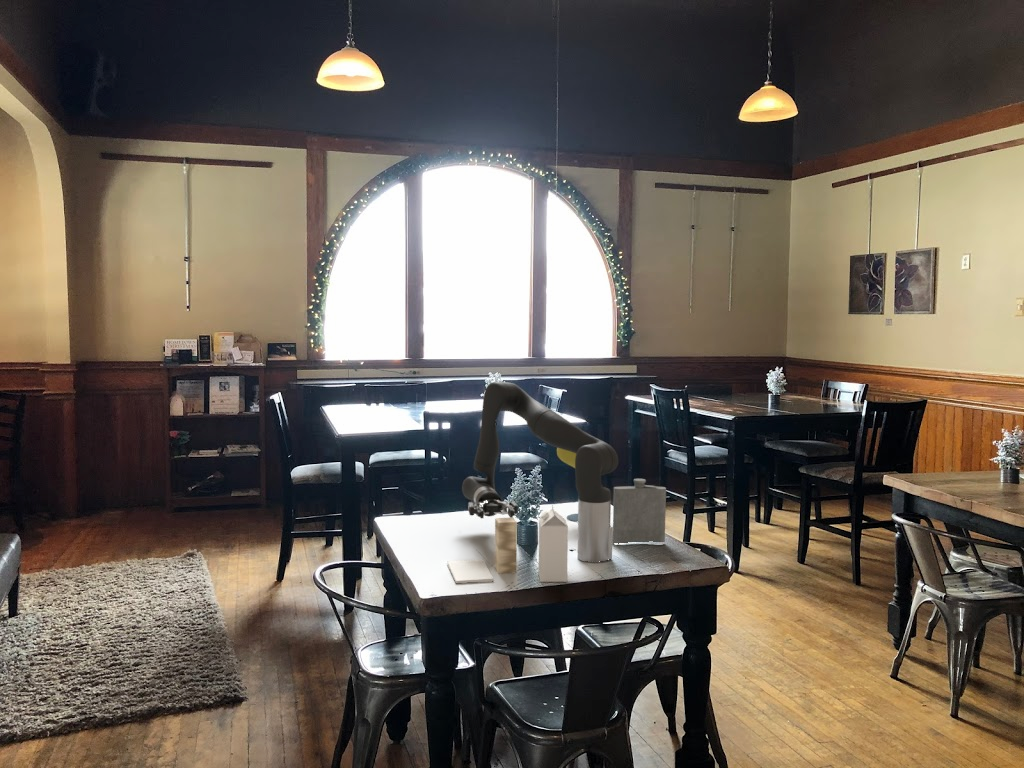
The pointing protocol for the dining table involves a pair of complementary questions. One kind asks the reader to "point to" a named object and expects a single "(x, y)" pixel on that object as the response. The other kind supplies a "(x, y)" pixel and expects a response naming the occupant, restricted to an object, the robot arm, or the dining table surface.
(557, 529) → the milk carton
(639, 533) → the hip flask
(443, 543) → the dining table surface
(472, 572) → the white board
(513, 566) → the birch block
